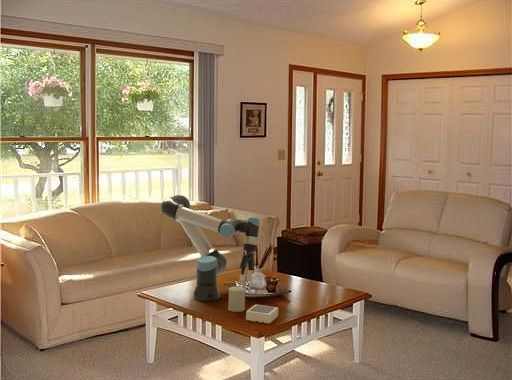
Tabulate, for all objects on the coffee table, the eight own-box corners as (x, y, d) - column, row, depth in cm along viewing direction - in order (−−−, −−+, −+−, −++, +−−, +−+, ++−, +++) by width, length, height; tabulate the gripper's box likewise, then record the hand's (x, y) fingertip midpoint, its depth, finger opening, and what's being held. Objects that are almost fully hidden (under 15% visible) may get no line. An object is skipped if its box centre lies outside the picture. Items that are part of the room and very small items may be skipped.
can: (230, 312, 336) (230, 290, 335) (226, 307, 345) (226, 286, 343) (246, 311, 339) (247, 289, 337) (242, 306, 347) (242, 285, 346)
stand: (246, 319, 324) (246, 310, 324) (255, 312, 336) (255, 303, 336) (269, 323, 319) (269, 314, 319) (277, 316, 332) (278, 307, 331)
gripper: (250, 242, 348) (245, 280, 345) (262, 246, 372) (257, 282, 369) (237, 241, 350) (232, 279, 347) (250, 245, 374) (245, 280, 371)
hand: (245, 280), depth 358 cm, fingers open, 13 cm apart
